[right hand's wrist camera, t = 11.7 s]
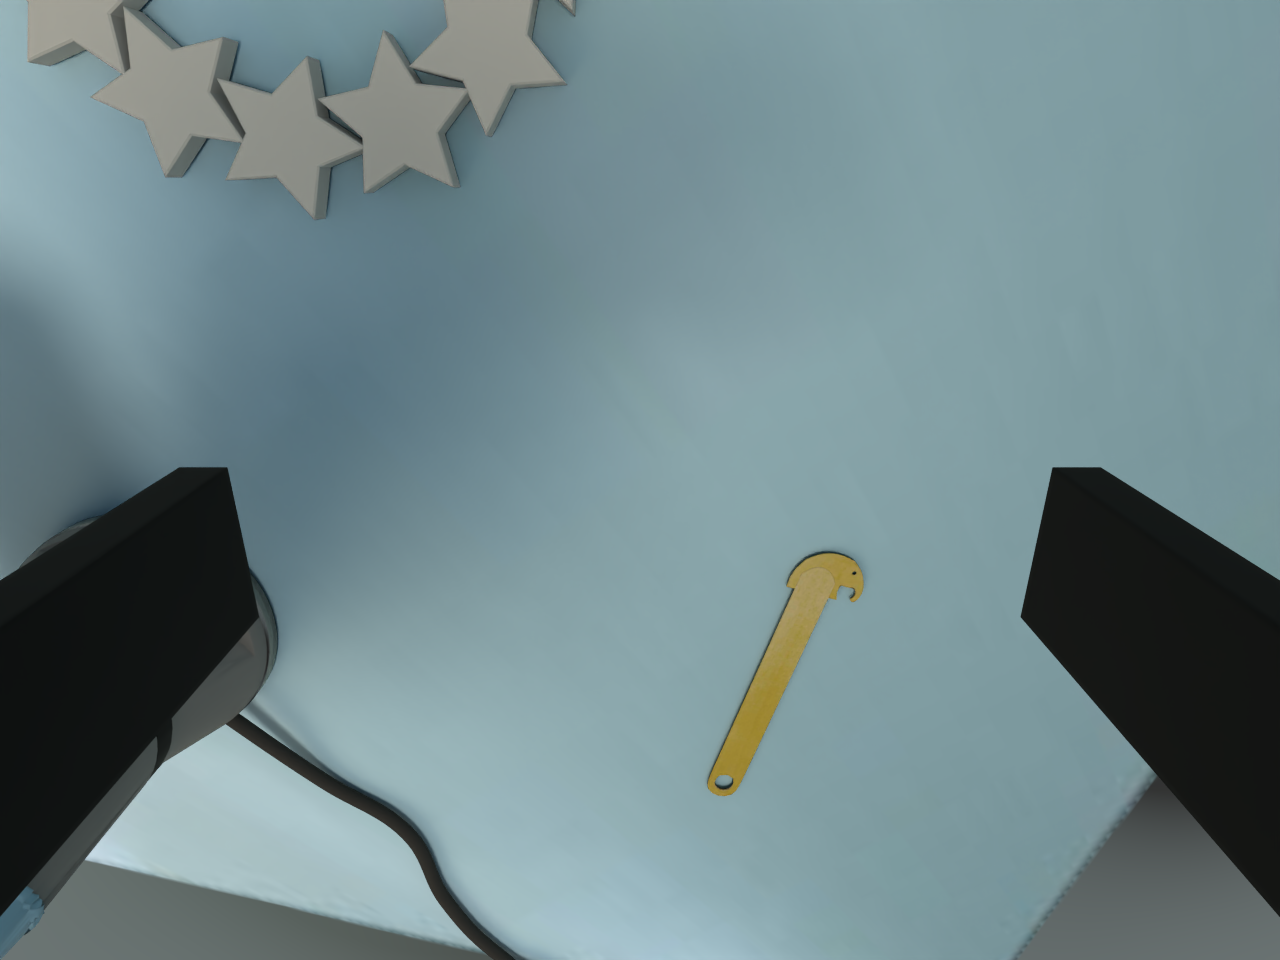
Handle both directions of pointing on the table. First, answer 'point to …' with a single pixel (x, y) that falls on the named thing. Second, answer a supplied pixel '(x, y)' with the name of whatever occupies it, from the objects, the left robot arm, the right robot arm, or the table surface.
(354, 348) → the table surface
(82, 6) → the grey flat ring piece
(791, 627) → the bottle opener
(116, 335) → the table surface
